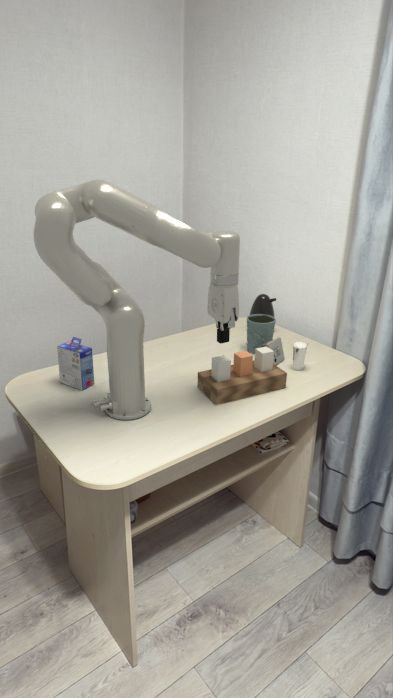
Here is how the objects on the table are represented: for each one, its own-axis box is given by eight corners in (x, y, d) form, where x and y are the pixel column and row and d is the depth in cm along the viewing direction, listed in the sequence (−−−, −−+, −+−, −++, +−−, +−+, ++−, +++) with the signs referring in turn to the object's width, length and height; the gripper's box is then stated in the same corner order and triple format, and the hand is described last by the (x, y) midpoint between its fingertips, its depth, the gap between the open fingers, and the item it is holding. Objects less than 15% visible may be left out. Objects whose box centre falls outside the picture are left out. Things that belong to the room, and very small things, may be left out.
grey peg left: (217, 383, 135) (218, 362, 132) (211, 377, 138) (211, 357, 136) (229, 380, 137) (230, 360, 134) (223, 374, 140) (223, 355, 137)
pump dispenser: (268, 337, 180) (271, 299, 173) (243, 332, 184) (245, 295, 178) (278, 329, 188) (281, 293, 182) (254, 324, 192) (256, 288, 186)
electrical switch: (272, 368, 155) (272, 344, 152) (260, 365, 158) (260, 342, 155) (284, 360, 161) (284, 337, 158) (273, 357, 164) (272, 335, 161)
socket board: (216, 405, 133) (217, 389, 131) (197, 387, 142) (197, 372, 140) (285, 387, 143) (287, 373, 141) (263, 371, 152) (264, 357, 150)
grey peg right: (261, 373, 141) (262, 353, 139) (254, 368, 145) (255, 348, 142) (272, 370, 143) (274, 351, 140) (264, 365, 146) (266, 346, 144)
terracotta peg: (240, 378, 138) (241, 358, 136) (233, 372, 141) (234, 353, 139) (251, 375, 140) (252, 355, 137) (244, 370, 143) (245, 350, 140)
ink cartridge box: (96, 383, 143) (92, 340, 138) (83, 391, 139) (78, 346, 133) (72, 375, 148) (68, 333, 142) (59, 382, 144) (54, 339, 138)
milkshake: (301, 373, 152) (304, 345, 148) (287, 367, 155) (290, 340, 151) (309, 369, 154) (312, 341, 150) (296, 364, 158) (299, 336, 154)
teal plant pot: (243, 353, 166) (245, 321, 161) (246, 342, 175) (248, 312, 170) (272, 356, 164) (274, 324, 159) (274, 345, 173) (276, 314, 168)
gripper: (199, 274, 130) (199, 335, 138) (226, 287, 118) (224, 354, 125) (222, 270, 133) (221, 331, 141) (251, 283, 121) (248, 349, 128)
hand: (223, 341), depth 133 cm, fingers closed
